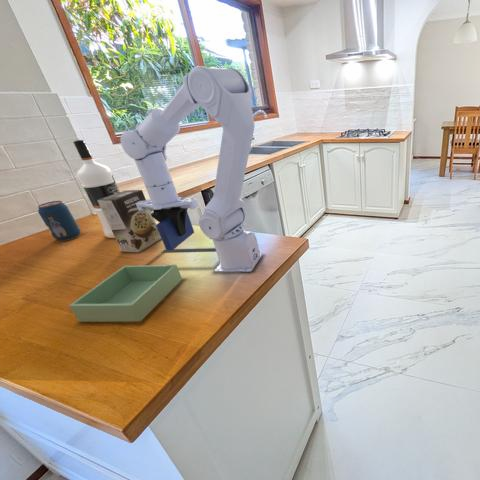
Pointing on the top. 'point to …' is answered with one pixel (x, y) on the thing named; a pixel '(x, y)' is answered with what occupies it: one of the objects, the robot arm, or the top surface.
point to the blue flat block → (173, 233)
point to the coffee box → (130, 220)
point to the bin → (127, 294)
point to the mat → (189, 250)
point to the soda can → (59, 220)
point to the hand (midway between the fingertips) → (178, 234)
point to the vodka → (96, 183)
